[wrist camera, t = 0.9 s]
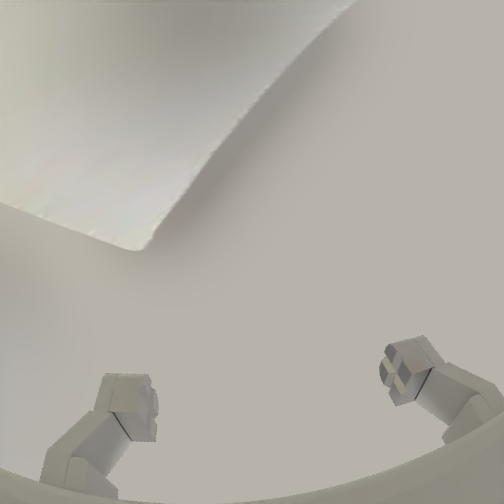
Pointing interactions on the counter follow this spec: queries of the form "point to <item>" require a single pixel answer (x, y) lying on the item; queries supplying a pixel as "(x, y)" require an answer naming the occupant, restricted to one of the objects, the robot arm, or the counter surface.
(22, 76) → the counter surface
